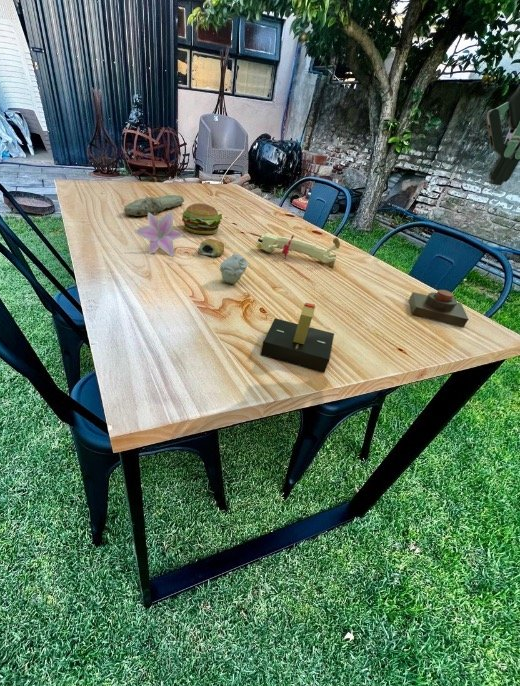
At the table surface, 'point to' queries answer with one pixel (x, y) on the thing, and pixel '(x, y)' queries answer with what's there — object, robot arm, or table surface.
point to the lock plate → (298, 346)
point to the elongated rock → (152, 205)
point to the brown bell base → (437, 309)
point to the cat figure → (298, 247)
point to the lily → (160, 233)
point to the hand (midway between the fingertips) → (495, 184)
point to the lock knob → (304, 323)
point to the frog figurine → (233, 268)
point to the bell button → (444, 295)
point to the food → (201, 219)
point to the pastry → (211, 248)
